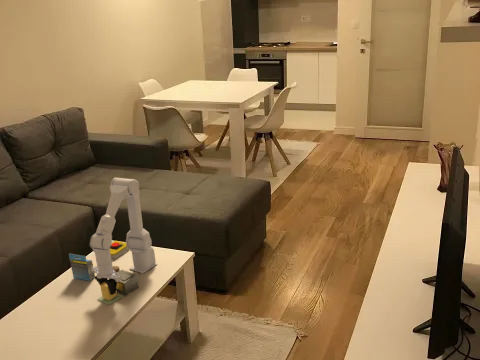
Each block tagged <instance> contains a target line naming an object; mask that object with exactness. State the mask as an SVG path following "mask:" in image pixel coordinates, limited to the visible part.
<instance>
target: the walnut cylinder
mask: <svg viewBox="0 0 480 360" xmlns="http://www.w3.org/2000/svg"><path fill="white" fill-rule="evenodd" d="M113 270H114V271H115V272H116V273H117V272H118V271H120V270H121V269H120V266H118V265H113Z"/></svg>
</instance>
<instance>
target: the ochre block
mask: <svg viewBox="0 0 480 360" xmlns="http://www.w3.org/2000/svg"><path fill="white" fill-rule="evenodd" d="M99 286H100V291H101V297H103V298H105V299H107V300H111V299H112V298H114V297H115V296H117V293H118V292H116V293H115V294H113V295H111V294H110V291H109V288H108V285H107V284H106V283H105V282H103V283H102V284H99Z"/></svg>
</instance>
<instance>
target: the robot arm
mask: <svg viewBox="0 0 480 360" xmlns="http://www.w3.org/2000/svg"><path fill="white" fill-rule="evenodd" d="M109 191H110V193H111V194H110V197H109V200H108V205H107V208H106V212H105V214H104V215H102V216H101V218H100V220H99V223H98V226H97V228H96V230H95V231H96V232H95V233H94V234H93V235H91V237H90V241H89V247H90V248H91V249H92V252H93V253H94V255H95V256H94V257H95V261H96V266H93V268H92V272H93V273H95V277H94V279H95V280H96V281H97V283H98V284H99V285H100V284H102V283H103V282H105V283H106V284H107V285H108V288H109V291H110V294H111V295H113V294H115V293H117V292H116V287H117V283H118V282H119V281H120V280H121V276H120V275H118V274H117V273H116V272H115V271H114V270H113V266H114V265H113V261H112V260H111V254H110V246H111V244H112V242H113V235H112V233H113V231H114V228H115V224H116V222H117V221H116V215H117V212H118V210H119V208H120V205H121V204H122V201H123V200H126V204H127V205H126V206H127V213H128V220H129V221H128V222H129V228H130V229H129V231H128V232H127V233H126V239H125V243H126V245H127V247H128V248H130V250H129V251H130V252H131V255H132V264H133V266H130V267H129V269H130V270H132V271H135V272H137V273H140V274H144V273H146V272H147V271H148V270H151V269H153V267H155V266H156V265H158V263H157V262H156V256H155V249H154V248H153V247H152V242H153V241H152V238H151V236H150V232H149V231H147V230H146V229H145V228H143V227H144V226H143V218H142V217H143V216H142V208H141V200H140V194H141V193H140V184H139V181H138V180H137V179H134V178H123V177H122V178H121V177H114V178H112V180H111V181H110V185H109Z"/></svg>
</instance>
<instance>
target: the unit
mask: <svg viewBox="0 0 480 360" xmlns="http://www.w3.org/2000/svg"><path fill="white" fill-rule="evenodd" d="M117 274H118V275H120V276H121V280H120V281H119V282H118V283H117V287H116V291H117V292H116V293H118V294H120V293H121V294H120V295H123V296H126V297H127V296H129V295H131V293H133V292H134V291H136V290H138V289H139V288H140V286H139V285H140V284H139V278H138V274H135V273H133V272H130V271H128V270H124V269H120V271H118V272H117Z"/></svg>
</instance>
